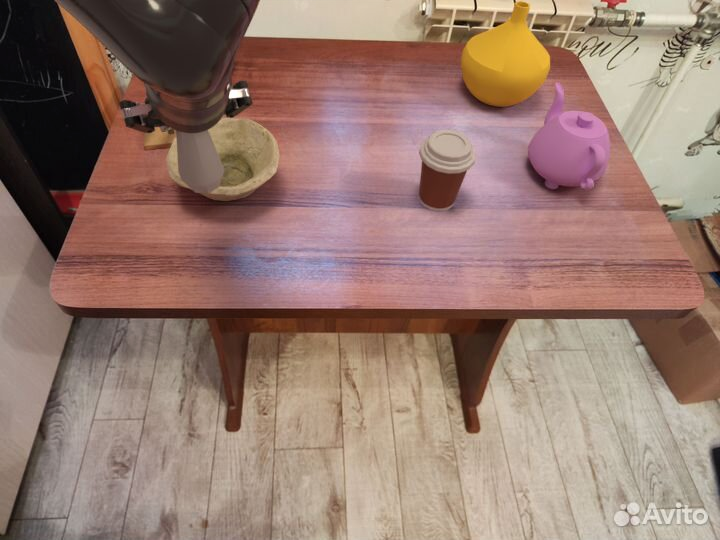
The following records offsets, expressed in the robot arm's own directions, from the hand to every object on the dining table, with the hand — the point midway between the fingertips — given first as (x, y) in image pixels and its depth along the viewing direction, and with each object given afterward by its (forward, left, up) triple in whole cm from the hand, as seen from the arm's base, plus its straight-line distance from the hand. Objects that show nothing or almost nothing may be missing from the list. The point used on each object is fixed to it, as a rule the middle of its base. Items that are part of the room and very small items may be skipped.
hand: (188, 122), depth 61 cm
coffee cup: (+38, +1, -21) cm, 44 cm away
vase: (+63, +30, -21) cm, 73 cm away
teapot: (+64, +4, -21) cm, 68 cm away
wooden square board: (-6, +29, -21) cm, 37 cm away
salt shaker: (0, -2, -9) cm, 9 cm away
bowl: (+3, +11, -21) cm, 24 cm away
